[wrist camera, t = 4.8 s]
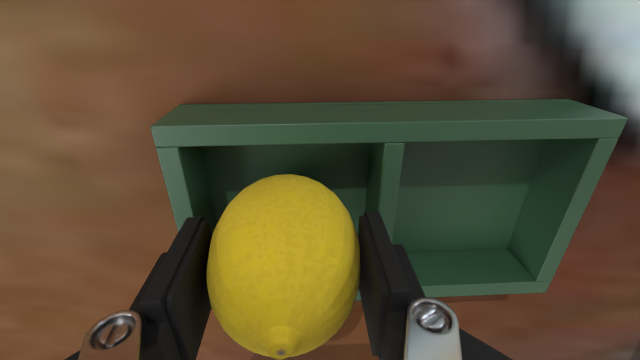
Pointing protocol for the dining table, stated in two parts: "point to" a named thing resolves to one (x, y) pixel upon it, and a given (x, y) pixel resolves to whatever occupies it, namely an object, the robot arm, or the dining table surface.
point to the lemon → (283, 266)
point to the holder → (411, 175)
